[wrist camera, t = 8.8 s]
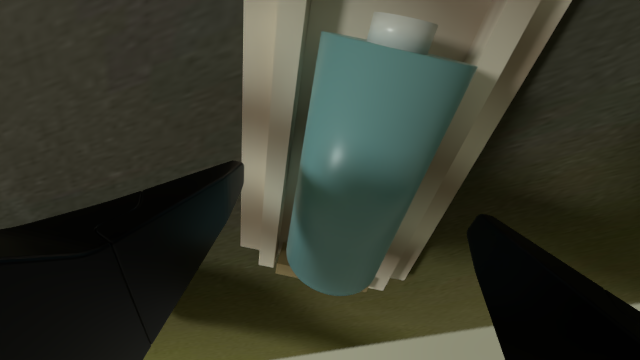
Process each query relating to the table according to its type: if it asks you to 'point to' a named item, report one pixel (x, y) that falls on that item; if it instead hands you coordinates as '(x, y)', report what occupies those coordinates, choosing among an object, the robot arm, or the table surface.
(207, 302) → the table surface
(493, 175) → the table surface
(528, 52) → the wooden tray
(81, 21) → the table surface
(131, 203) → the robot arm
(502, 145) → the table surface
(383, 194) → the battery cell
